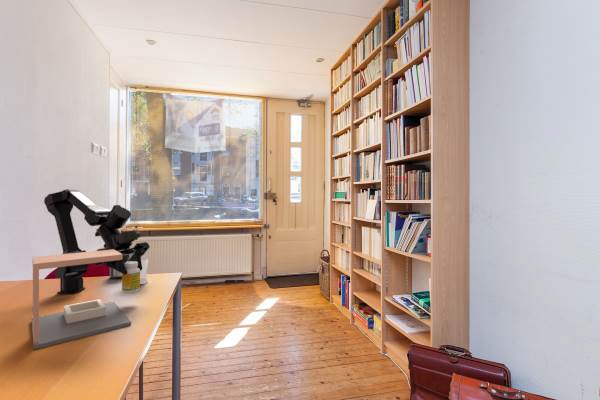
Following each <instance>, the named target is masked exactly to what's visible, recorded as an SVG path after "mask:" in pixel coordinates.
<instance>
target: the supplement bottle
mask: <svg viewBox="0 0 600 400" xmlns="http://www.w3.org/2000/svg"><path fill="white" fill-rule="evenodd" d="M137 266H138V262H137V261H130V262H125V268H126V270H127V274H126V275H125V274H123V273H122V278H121V291H122V292H123V293H135V292H138V291H140V289H141V285H140V269H139V268H137Z"/></svg>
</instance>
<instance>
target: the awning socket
mask: <svg viewBox="0 0 600 400" xmlns="http://www.w3.org/2000/svg"><path fill="white" fill-rule="evenodd" d="M31 259H32V262H31V263H32V317H31V329H32V345H33V350H34V349H35V350H38V349H42V348H45V347H50V346H53V345H57V344H62V343H66V342H70V341H74V340H78V339H81V338H82V339H83V338H85V337H90V336H93V335H97V334H102V333H104V332H109V331H113V330H117V329H121V328H124V327H130V326H132V321H131V320H130V319H129V317H127V315H126V314H125V313H124V311H123V310H122V309H121V308H120V307H119V306H118V305H117V304H116V302H115V301H111V302H106V303H104V302H103V301H102V299H100V298H99V299H98V298H97V299H93V300H89V301H83V302H77V303H72V304H71V303H70V304H66V305H63V311H61V312H55V313H50V314H46V315H41V316H40V270H47V269H55V268H56V269H57V268H58V267H64V266H73V265H81V264H89V265H90V264H92V263H98V262H103V263H104V262H106V261H115V260H122V254H121V253H119V252H118V251H116V250H114V249H111V250H101V251H97V250H93V251H86V252H80V253H70V254H63V253H61V254H51V255H40V256H32V258H31Z"/></svg>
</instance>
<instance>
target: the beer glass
mask: <svg viewBox="0 0 600 400" xmlns="http://www.w3.org/2000/svg"><path fill="white" fill-rule="evenodd" d="M149 253H150V252H149V249H148V250H147V251H146V252H145V254H144V255H143V256H141V263H142V270H141V271H140V284H142V285H146V284H147V283H148V281H149V280H148V277H147V272H148V267H149V259H150V254H149ZM129 257H130V256H129ZM130 258H131V257H130ZM130 258H129V259H130ZM145 283H146V284H145Z"/></svg>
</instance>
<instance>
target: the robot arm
mask: <svg viewBox="0 0 600 400" xmlns="http://www.w3.org/2000/svg"><path fill="white" fill-rule="evenodd" d="M43 202H44V204H45V207H46V210H47V212H48V213H50V214H51V215H52V216H53V217H54V219H55V224H56V227H57V233H58V236H59V240H60V243H61V248H62V254H70V253H80V252H87V251H86V250H85V249H84V250H82V249H81V248H80V247H79V244H78V239H77V235H76V231H75V227H74V224H73V220H72V216H71V212H72V210H73V208H74V207H75V208H76V209H77V210H79V212H81V213H82V214H83V215H84V220H85V221H86V223H87V224H88V225H89V226H90V227H95V226H98V228H96V232H95V233H94V237H100V238H101V239H102V240H103V242H104V244H103V248H98V249H97V250H96V251H101V250H111V249H114V250H116V251H118V252H119V253H121V254H122V255H128V254H129V255H130V256H129V257H131V258H129V261H137V262H138V266H137V268H139V269H140V271H141V270H142V263H141V256H143V255H144V254H145V252H146V251H147V250H148V251H149V248H150V247H151V246H150V245H149V243H148V242H146V241H143V242H136V244H134V246H133V247H131V246H132V245H133V242H134V241H137V240H138V239H139V238H141V234H142V233H141V232H140V231H139V228H138V229H132V230H128V231H124V232H120V230H119V229H122V228H124V226H125V225H126V223H127V222H128V221H129V219H130V218H131V217H132V214H131V212H130V210H128V209H127V208H125V207H122V206H121V205H120V204H114V205H113V207H112V208H111V210H110V209H108V208H107V207H104V206H99V205H97V204H95V203H94V202H93V201H91V200H90V199H89V198H88V197H86V195H84V194H83V193H82V192H81V191H80V189H75V188H72V189H71V188H70V189H69V188H67V189H64V190H63V189H62V190H61V191H58V192H53V193H49V194H47V195H46V196H45V197H44V200H43ZM89 265H90V264H81V265H73V266H64V267H56V269H55V270H54V274H55V276H54V277H55V278H57V279H58V278H59V280H60V281H59V282H60V285H59V286H60V290H59V291H57V292H56V294H61V295H62V294H67V295H69V294H70V295H72V294H76V293H78V292H80V291H84V290H86V287H85V286H84V278H83V275H86V274H87V272H88V269H89ZM91 265H92V266H93V267H96V266H100V265H101V266H102V265H103V266H104V267H108V268H109V269H110V268H113V269H115V270H117V271H119V272H121V273H123V274H125V275H126V274H127V270H126V268H125V266H124V265H123V263H122V261H121V260H115V261H106V262H98V263H91Z"/></svg>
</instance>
